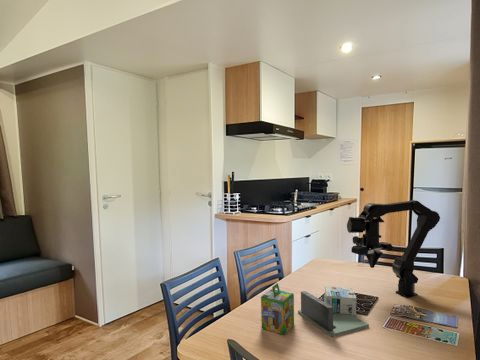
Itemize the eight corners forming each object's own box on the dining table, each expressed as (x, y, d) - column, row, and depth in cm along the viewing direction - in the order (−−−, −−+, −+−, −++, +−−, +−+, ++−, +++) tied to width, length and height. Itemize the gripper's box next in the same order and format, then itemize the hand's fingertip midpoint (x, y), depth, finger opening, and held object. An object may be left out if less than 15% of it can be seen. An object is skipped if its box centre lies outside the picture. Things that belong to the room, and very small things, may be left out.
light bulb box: (356, 297, 120) (327, 295, 121) (356, 315, 120) (326, 313, 122) (351, 287, 130) (324, 285, 132) (351, 303, 130) (324, 301, 132)
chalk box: (284, 335, 108) (284, 292, 107) (260, 329, 113) (260, 287, 112) (295, 324, 116) (294, 283, 115) (272, 318, 120) (271, 279, 120)
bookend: (309, 310, 124) (309, 290, 124) (337, 329, 110) (337, 305, 109) (301, 312, 123) (300, 291, 122) (328, 331, 108) (328, 308, 108)
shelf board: (331, 305, 131) (331, 302, 131) (368, 327, 113) (368, 324, 113) (298, 312, 125) (298, 310, 125) (332, 337, 106) (332, 334, 106)
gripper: (373, 227, 152) (373, 260, 152) (342, 231, 144) (342, 265, 145) (393, 231, 141) (393, 266, 142) (361, 235, 134) (361, 272, 134)
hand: (372, 267), depth 141 cm, fingers closed
